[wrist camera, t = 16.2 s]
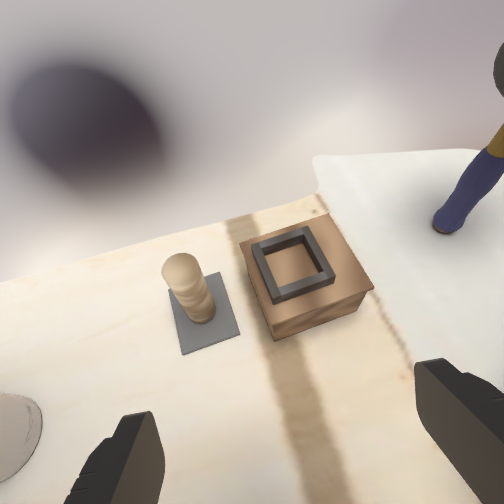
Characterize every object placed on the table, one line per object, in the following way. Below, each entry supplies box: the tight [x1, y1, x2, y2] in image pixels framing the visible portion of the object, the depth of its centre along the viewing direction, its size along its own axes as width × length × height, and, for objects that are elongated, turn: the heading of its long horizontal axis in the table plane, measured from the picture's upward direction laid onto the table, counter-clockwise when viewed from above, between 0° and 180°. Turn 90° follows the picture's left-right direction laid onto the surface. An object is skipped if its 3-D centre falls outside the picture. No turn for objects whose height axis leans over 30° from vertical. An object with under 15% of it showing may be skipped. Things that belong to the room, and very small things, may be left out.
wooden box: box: [239, 213, 374, 341], centre depth 40 cm, size 13×12×10 cm
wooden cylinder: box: [162, 253, 216, 324], centre depth 38 cm, size 4×4×12 cm
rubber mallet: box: [434, 43, 504, 233], centre depth 35 cm, size 12×8×30 cm, turn 122°
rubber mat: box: [168, 272, 240, 355], centre depth 44 cm, size 8×10×1 cm
